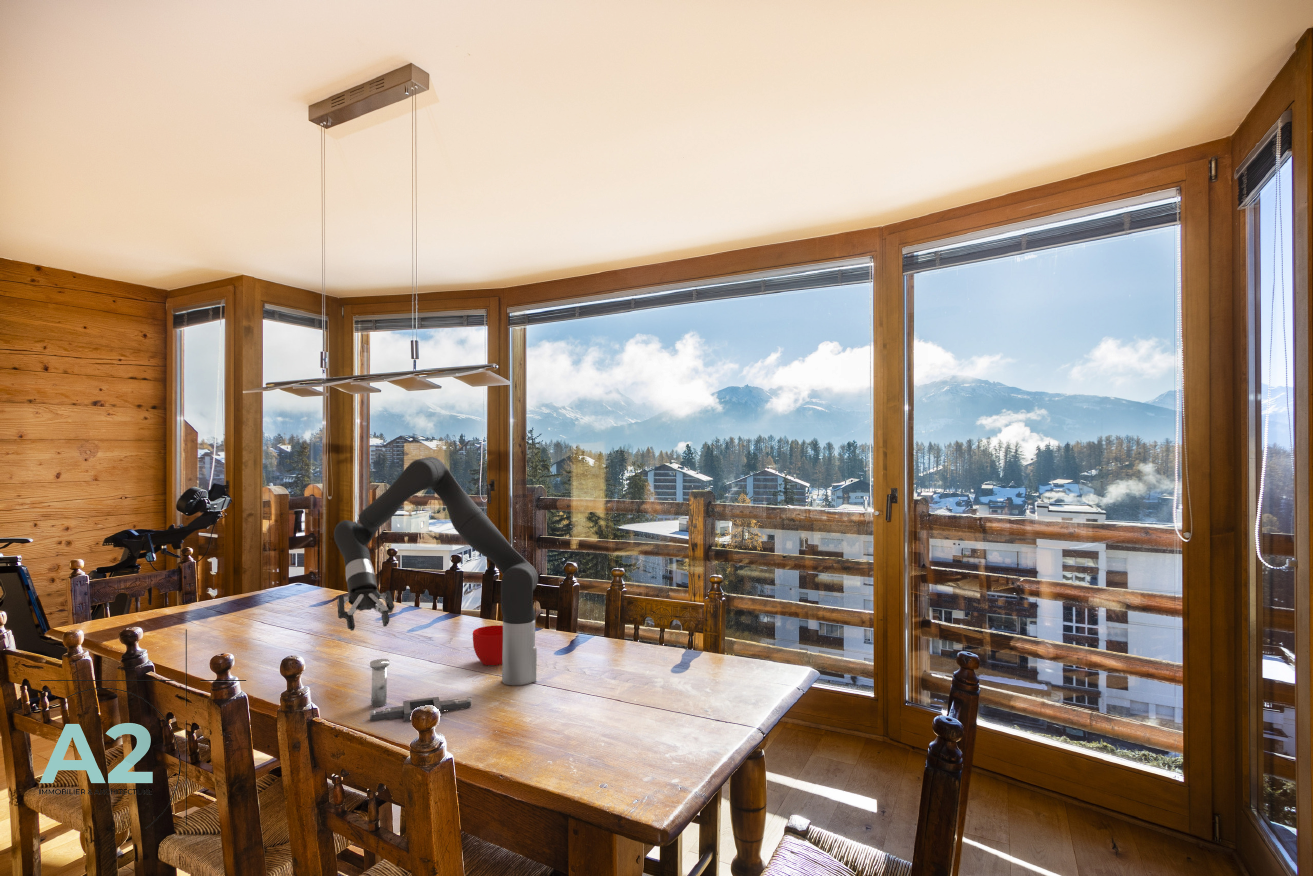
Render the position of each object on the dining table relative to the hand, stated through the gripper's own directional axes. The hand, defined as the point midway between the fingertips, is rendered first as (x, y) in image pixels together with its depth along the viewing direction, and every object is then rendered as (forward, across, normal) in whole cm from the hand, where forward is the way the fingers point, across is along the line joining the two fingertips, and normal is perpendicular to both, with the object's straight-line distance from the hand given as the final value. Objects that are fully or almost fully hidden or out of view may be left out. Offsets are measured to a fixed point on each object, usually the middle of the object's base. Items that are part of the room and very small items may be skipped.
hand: (369, 627), depth 177 cm
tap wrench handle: (+29, +7, -5) cm, 30 cm away
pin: (+21, 0, +4) cm, 21 cm away
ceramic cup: (+11, +39, +13) cm, 42 cm away
